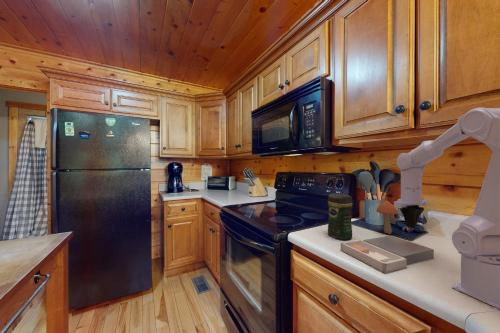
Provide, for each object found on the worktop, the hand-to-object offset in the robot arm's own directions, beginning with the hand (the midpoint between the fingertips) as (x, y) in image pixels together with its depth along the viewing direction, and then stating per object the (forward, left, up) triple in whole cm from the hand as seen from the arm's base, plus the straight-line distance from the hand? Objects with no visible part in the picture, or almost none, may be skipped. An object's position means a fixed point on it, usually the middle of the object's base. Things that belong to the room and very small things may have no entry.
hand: (411, 227), depth 69 cm
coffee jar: (+22, +10, -10) cm, 26 cm away
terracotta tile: (+6, +18, -7) cm, 20 cm away
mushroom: (+18, -13, -10) cm, 24 cm away
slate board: (+2, +4, -9) cm, 10 cm away
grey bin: (+2, +16, -9) cm, 19 cm away
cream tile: (-1, +17, -7) cm, 19 cm away
